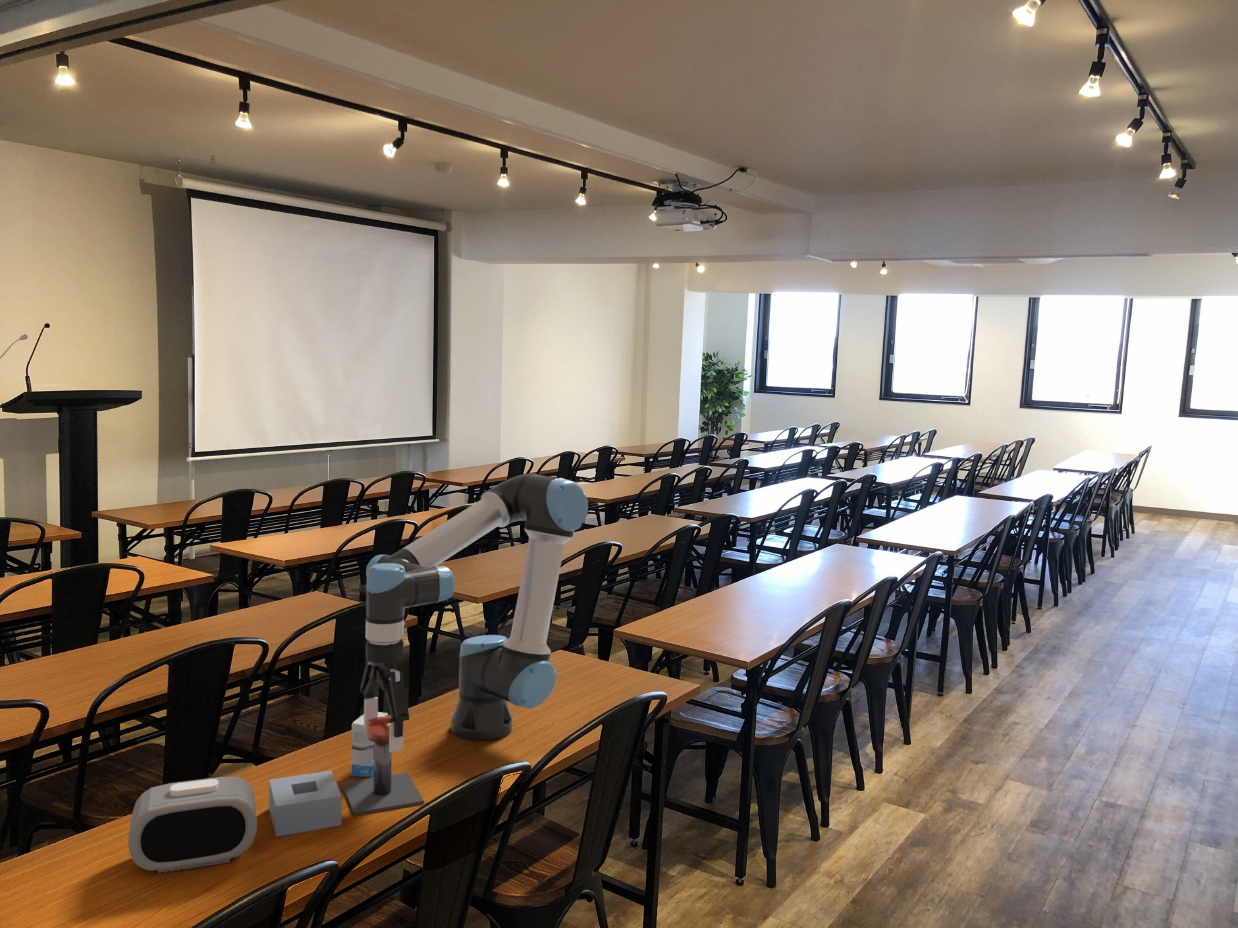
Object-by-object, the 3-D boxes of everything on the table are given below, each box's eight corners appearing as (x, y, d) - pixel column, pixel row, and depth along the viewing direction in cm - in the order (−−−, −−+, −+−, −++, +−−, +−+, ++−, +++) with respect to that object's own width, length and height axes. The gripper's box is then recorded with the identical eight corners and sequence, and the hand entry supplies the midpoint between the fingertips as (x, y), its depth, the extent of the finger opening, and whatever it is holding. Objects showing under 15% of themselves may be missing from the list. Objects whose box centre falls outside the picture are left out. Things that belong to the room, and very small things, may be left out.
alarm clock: (128, 881, 159) (127, 806, 157) (132, 853, 168) (131, 782, 166) (257, 860, 167) (257, 789, 166) (254, 834, 176) (255, 767, 174)
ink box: (370, 778, 201) (371, 726, 200) (349, 775, 202) (350, 723, 201) (388, 762, 209) (389, 712, 208) (368, 759, 210) (368, 709, 209)
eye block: (331, 798, 191) (331, 770, 191) (341, 825, 181) (341, 795, 180) (269, 808, 186) (269, 779, 185) (275, 836, 175) (276, 806, 175)
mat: (407, 774, 203) (407, 772, 203) (423, 803, 191) (423, 800, 191) (341, 785, 197) (341, 782, 197) (354, 815, 185) (354, 812, 185)
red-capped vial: (373, 801, 189) (374, 726, 188) (361, 788, 195) (362, 715, 193) (402, 793, 193) (403, 719, 191) (390, 781, 198) (391, 709, 197)
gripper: (427, 653, 183) (425, 757, 185) (379, 621, 202) (377, 715, 205) (391, 659, 178) (389, 765, 180) (345, 626, 198) (344, 722, 200)
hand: (383, 739), depth 193 cm, fingers open, 13 cm apart
